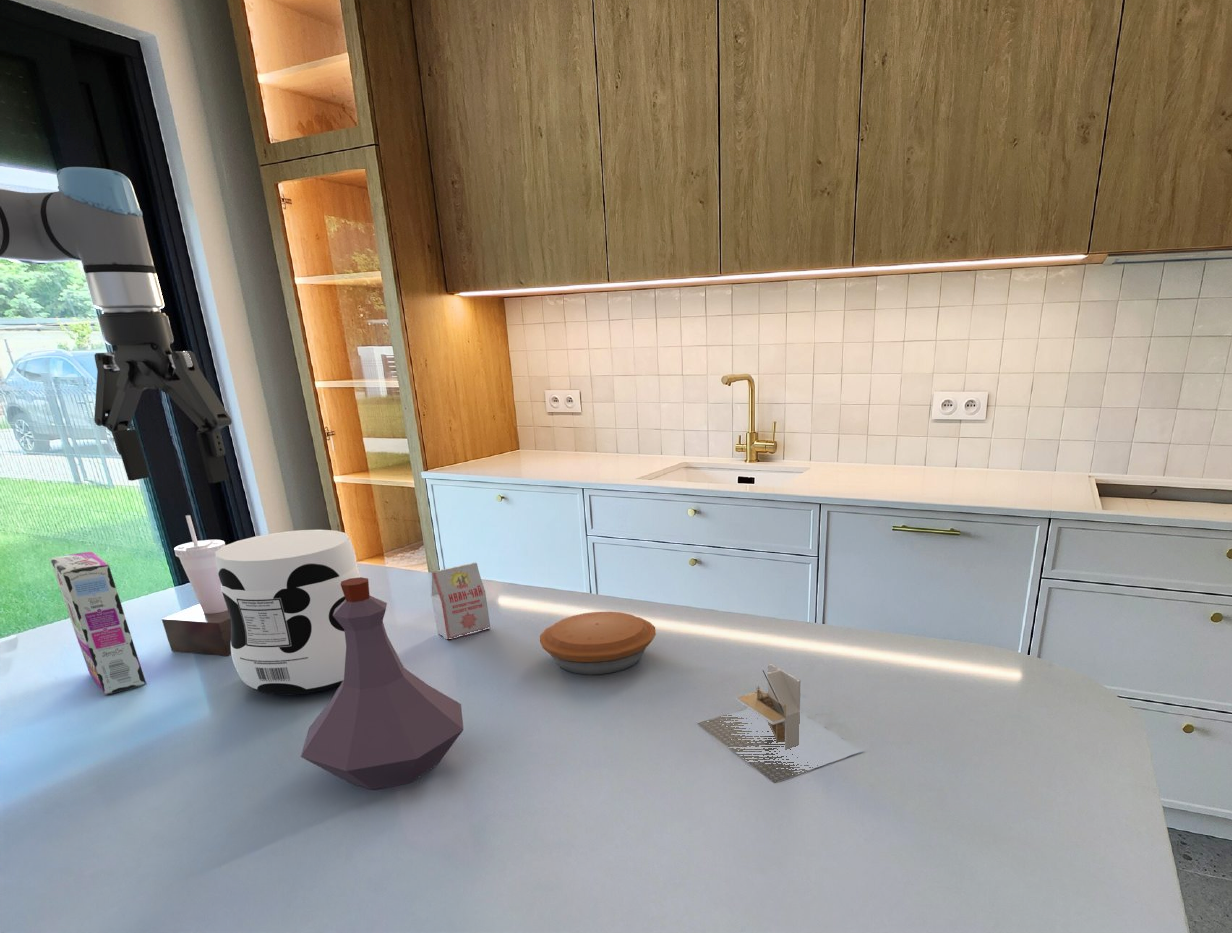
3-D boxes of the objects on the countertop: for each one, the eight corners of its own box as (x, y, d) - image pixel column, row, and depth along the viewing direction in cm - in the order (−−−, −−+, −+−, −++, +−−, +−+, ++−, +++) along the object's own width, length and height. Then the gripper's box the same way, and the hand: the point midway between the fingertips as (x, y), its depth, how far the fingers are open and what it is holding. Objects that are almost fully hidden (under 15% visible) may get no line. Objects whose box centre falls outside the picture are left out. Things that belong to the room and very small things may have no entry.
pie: (524, 679, 101) (520, 643, 99) (564, 635, 115) (560, 603, 113) (641, 685, 99) (639, 647, 97) (667, 639, 113) (665, 606, 111)
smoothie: (181, 615, 114) (153, 519, 108) (216, 601, 119) (190, 509, 114) (219, 617, 112) (191, 520, 107) (252, 603, 118) (227, 510, 112)
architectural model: (773, 754, 82) (774, 689, 79) (737, 727, 87) (736, 666, 84) (800, 745, 83) (801, 681, 80) (762, 719, 89) (763, 659, 86)
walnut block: (171, 651, 115) (161, 618, 113) (225, 627, 123) (216, 596, 121) (227, 656, 112) (218, 623, 110) (278, 631, 121) (270, 600, 119)
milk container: (367, 642, 115) (342, 521, 108) (400, 681, 102) (374, 545, 95) (234, 673, 106) (197, 542, 99) (251, 720, 93) (210, 573, 86)
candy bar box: (150, 684, 104) (110, 564, 97) (104, 697, 100) (60, 573, 94) (131, 662, 111) (92, 549, 105) (88, 673, 108) (46, 556, 101)
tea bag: (437, 634, 118) (426, 569, 114) (479, 623, 121) (470, 560, 118) (447, 640, 115) (436, 574, 111) (490, 629, 119) (481, 565, 115)
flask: (287, 763, 83) (238, 582, 75) (436, 714, 93) (406, 548, 85) (337, 831, 72) (285, 624, 64) (501, 767, 81) (474, 580, 73)
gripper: (235, 308, 100) (274, 477, 109) (83, 314, 106) (130, 473, 115) (186, 308, 94) (231, 487, 102) (27, 313, 100) (82, 482, 108)
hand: (178, 480), depth 108 cm, fingers open, 13 cm apart
